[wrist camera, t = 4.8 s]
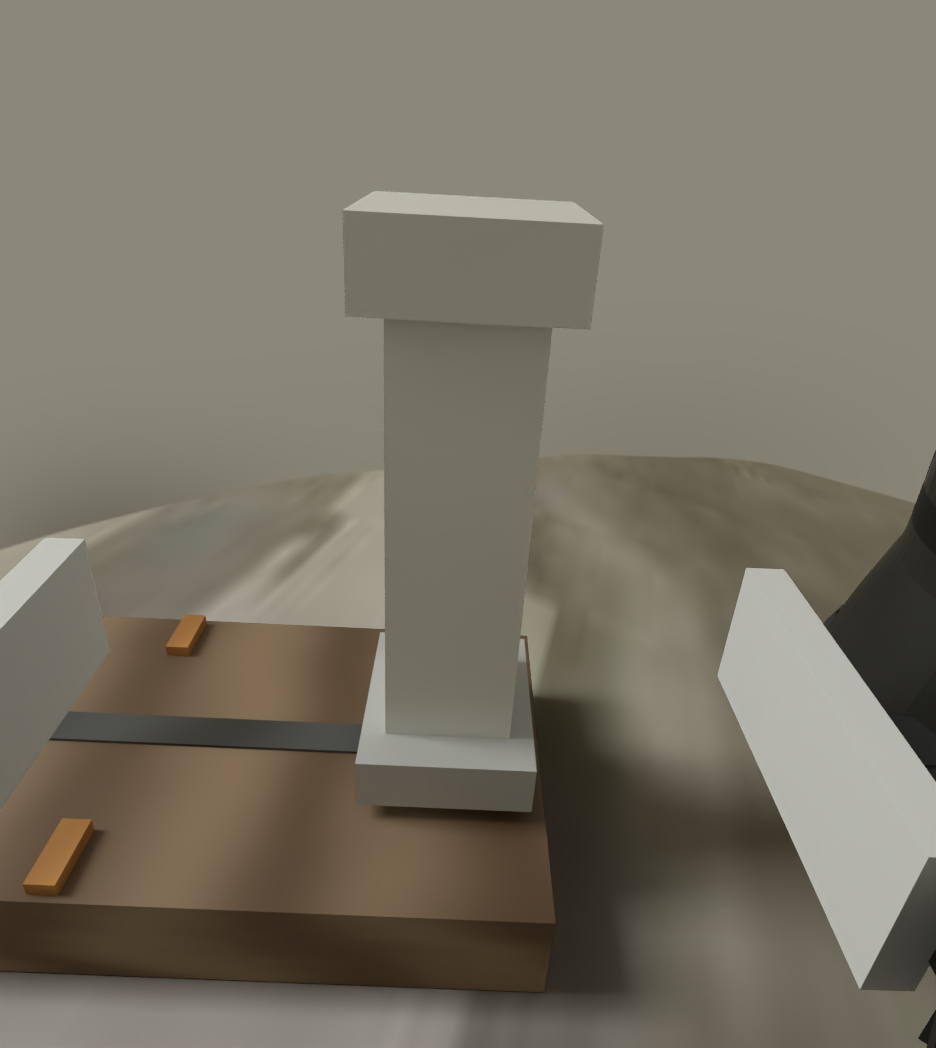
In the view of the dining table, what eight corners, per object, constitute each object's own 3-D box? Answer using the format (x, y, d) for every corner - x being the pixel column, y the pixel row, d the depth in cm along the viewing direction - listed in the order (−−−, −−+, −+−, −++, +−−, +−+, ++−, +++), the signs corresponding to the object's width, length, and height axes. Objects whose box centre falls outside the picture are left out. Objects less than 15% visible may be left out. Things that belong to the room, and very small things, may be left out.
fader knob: (520, 674, 26) (571, 200, 19) (531, 812, 21) (608, 227, 14) (380, 668, 26) (376, 189, 19) (356, 804, 21) (337, 212, 14)
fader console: (520, 689, 31) (527, 623, 29) (544, 992, 20) (557, 913, 18) (-106, 660, 30) (-134, 591, 29) (-428, 954, 20) (-501, 870, 18)
